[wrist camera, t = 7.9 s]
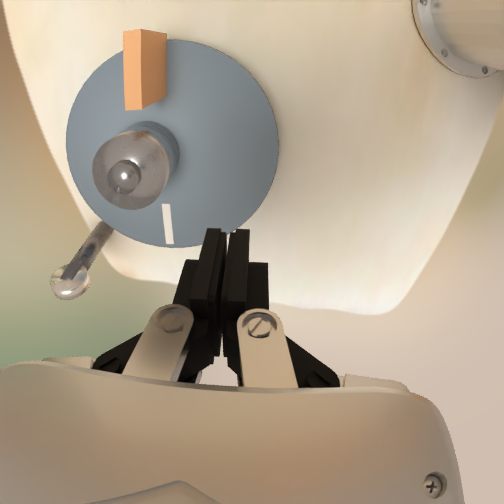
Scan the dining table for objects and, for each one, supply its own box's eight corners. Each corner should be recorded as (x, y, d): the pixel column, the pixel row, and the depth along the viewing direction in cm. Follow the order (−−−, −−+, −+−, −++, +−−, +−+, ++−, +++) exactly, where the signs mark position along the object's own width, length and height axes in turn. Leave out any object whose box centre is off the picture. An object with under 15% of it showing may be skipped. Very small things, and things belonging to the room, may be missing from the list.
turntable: (285, 35, 21) (296, 26, 15) (269, 243, 33) (271, 293, 27) (65, 52, 21) (16, 60, 14) (91, 236, 32) (62, 278, 26)
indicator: (118, 221, 33) (75, 288, 24) (121, 236, 35) (81, 305, 25) (89, 220, 33) (41, 284, 24) (92, 235, 34) (48, 300, 25)
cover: (176, 117, 24) (155, 135, 19) (182, 182, 27) (166, 215, 22) (112, 125, 24) (79, 145, 19) (122, 186, 27) (95, 217, 22)
